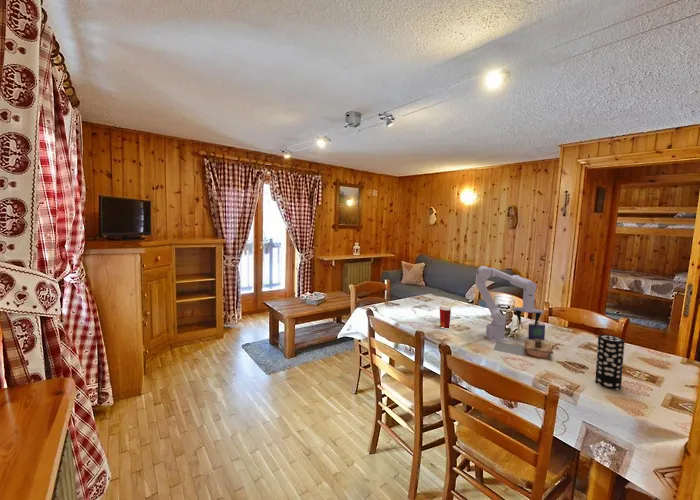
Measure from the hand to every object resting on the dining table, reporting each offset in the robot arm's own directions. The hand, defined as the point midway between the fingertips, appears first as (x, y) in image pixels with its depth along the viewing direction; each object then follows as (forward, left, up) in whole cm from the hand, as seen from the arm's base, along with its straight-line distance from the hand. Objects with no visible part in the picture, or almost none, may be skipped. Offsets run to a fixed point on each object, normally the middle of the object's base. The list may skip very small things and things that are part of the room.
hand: (527, 324), depth 175 cm
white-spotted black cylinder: (+6, -48, -10) cm, 49 cm away
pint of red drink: (-40, +24, -10) cm, 48 cm away
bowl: (-5, -18, -10) cm, 21 cm away
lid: (-5, -18, -6) cm, 20 cm away
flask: (+8, +4, -10) cm, 14 cm away
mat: (-16, -11, -10) cm, 22 cm away
